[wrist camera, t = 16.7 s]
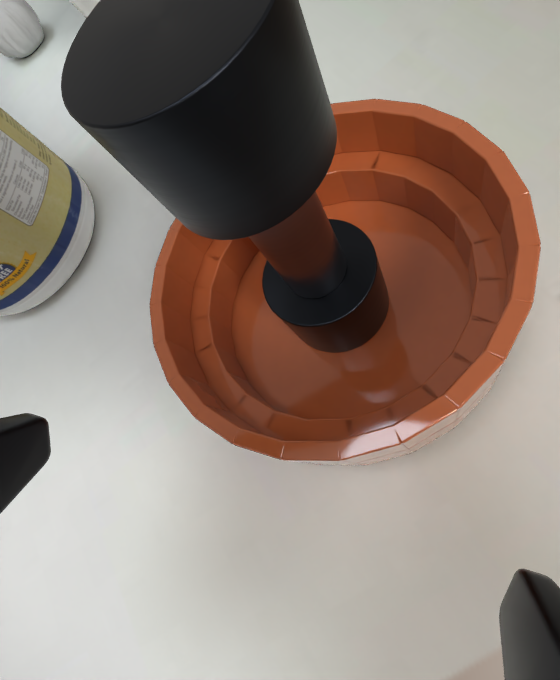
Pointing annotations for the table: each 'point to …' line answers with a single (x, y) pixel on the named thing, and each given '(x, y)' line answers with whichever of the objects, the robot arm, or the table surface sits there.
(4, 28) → the garlic
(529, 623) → the robot arm
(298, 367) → the terracotta bowl
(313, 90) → the dumbbell
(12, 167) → the supplement tub
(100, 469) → the table surface
